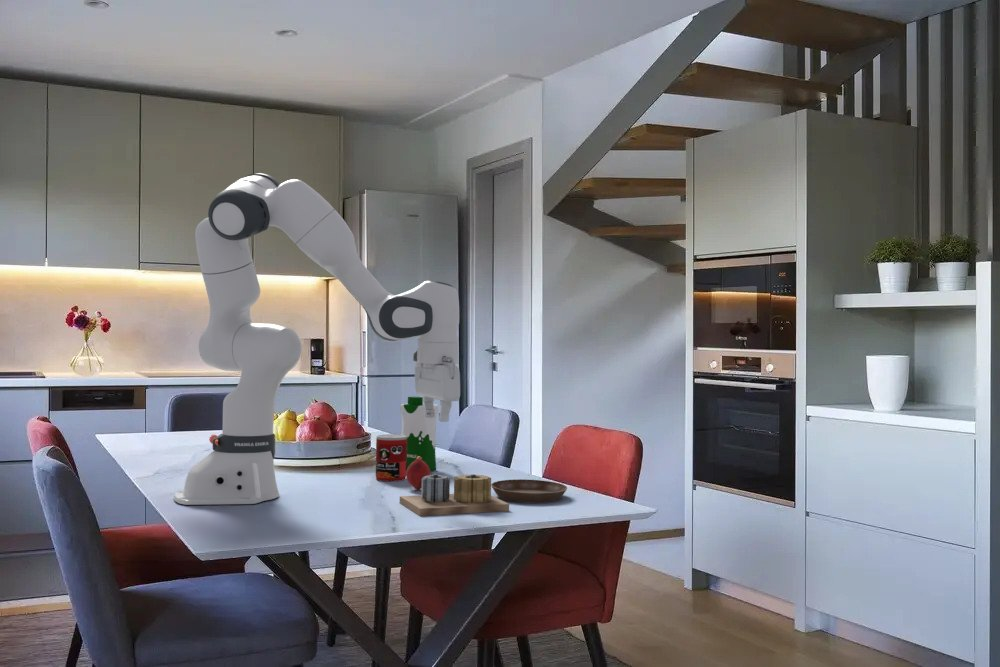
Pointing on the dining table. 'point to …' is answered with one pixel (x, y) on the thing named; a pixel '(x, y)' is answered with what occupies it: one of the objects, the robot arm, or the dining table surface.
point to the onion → (417, 472)
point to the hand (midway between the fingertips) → (436, 419)
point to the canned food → (391, 457)
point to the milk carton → (419, 432)
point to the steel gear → (435, 488)
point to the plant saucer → (529, 490)
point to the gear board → (451, 506)
